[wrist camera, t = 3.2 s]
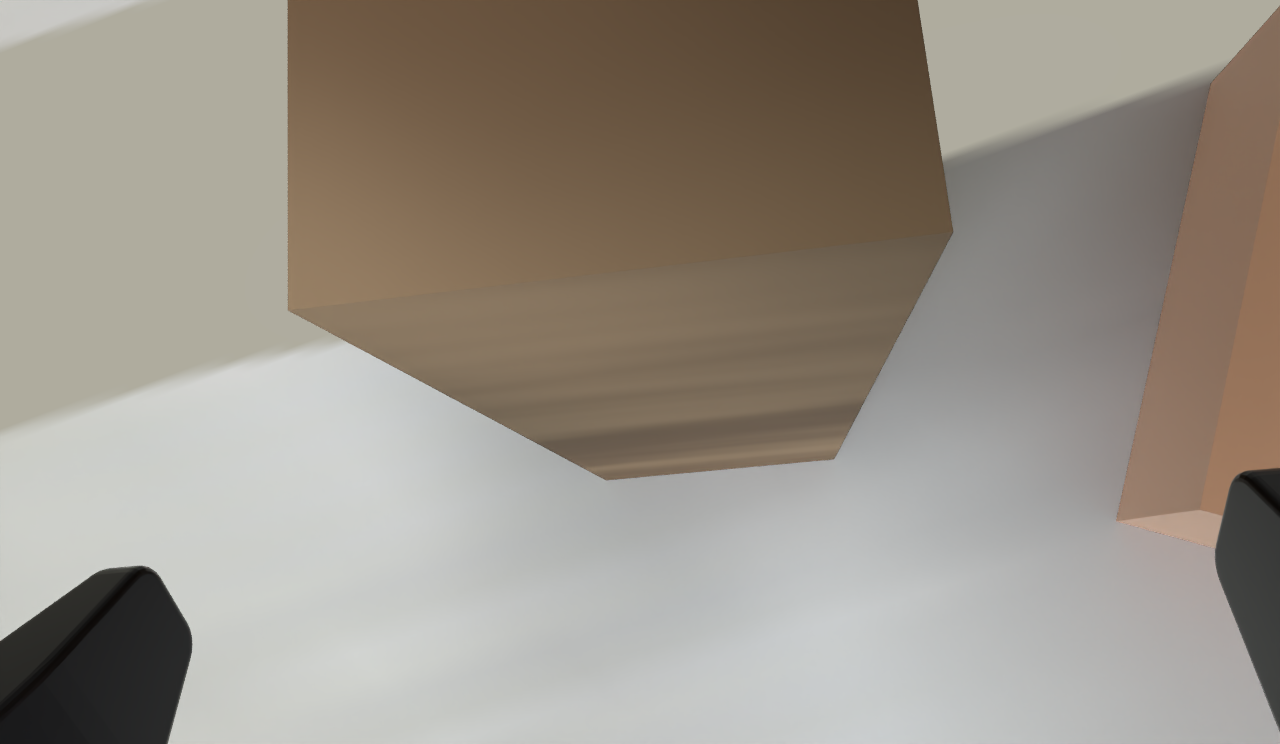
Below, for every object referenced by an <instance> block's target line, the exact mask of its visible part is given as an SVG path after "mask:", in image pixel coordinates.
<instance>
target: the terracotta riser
mask: <svg viewBox="0 0 1280 744" xmlns="http://www.w3.org/2000/svg"><path fill="white" fill-rule="evenodd" d="M1271 468H1280V6H1279V7H1278V9H1277V10H1276V11H1275V12H1274V13H1273V14H1272V15H1271V16H1270V18H1269V19H1268V20H1267V21H1266V22H1265V23H1264V25H1262V27H1261V28H1260V29H1259V30H1258V31H1257V32H1256V33H1255V35H1254V36H1253V37H1252V38H1251V39H1250V40H1249V41H1248V42H1247V43H1246V45H1245V46H1244V47H1243V48H1242V49H1241V50H1240V51H1239V52H1238V53H1237V55H1236V56H1235V57H1234V58H1233V59H1232V60H1231V61H1230V62H1229V64H1228V65H1227V66H1226V67H1225V68H1224V69H1223V70H1222V71H1221V72H1220V74H1219V75H1218V76H1217V77H1216V78H1215V79H1214V80H1213V81H1212V83H1211V85H1210V90H1209V94H1208V99H1207V103H1206V108H1205V113H1204V117H1203V122H1202V126H1201V131H1200V136H1199V140H1198V145H1197V150H1196V154H1195V159H1194V163H1193V168H1192V173H1191V177H1190V182H1189V186H1188V191H1187V196H1186V200H1185V205H1184V210H1183V214H1182V219H1181V223H1180V228H1179V233H1178V237H1177V242H1176V246H1175V251H1174V256H1173V260H1172V265H1171V270H1170V274H1169V279H1168V283H1167V288H1166V293H1165V297H1164V302H1163V307H1162V311H1161V316H1160V320H1159V325H1158V330H1157V334H1156V339H1155V343H1154V348H1153V353H1152V357H1151V362H1150V367H1149V371H1148V376H1147V380H1146V385H1145V390H1144V394H1143V399H1142V403H1141V408H1140V413H1139V417H1138V422H1137V427H1136V431H1135V436H1134V440H1133V445H1132V450H1131V454H1130V459H1129V463H1128V468H1127V473H1126V477H1125V482H1124V487H1123V491H1122V496H1121V500H1120V505H1119V510H1118V514H1117V519H1116V521H1117V522H1120V523H1124V524H1128V525H1131V526H1135V527H1139V528H1142V529H1146V530H1150V531H1153V532H1157V533H1161V534H1164V535H1168V536H1171V537H1175V538H1179V539H1182V540H1186V541H1190V542H1193V543H1197V544H1201V545H1204V546H1208V547H1212V548H1216V542H1217V538H1218V534H1219V529H1220V525H1221V521H1222V517H1223V513H1224V508H1225V504H1226V500H1227V496H1228V491H1229V488H1230V485H1231V482H1232V480H1233V479H1234V478H1235V476H1236V475H1238V474H1239V473H1242V472H1244V471H1248V470H1260V469H1271Z"/></svg>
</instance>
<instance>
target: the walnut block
mask: <svg viewBox="0 0 1280 744" xmlns="http://www.w3.org/2000/svg"><path fill="white" fill-rule="evenodd" d="M952 233H953V227H952V221H951V214H950V208H949V202H948V195H947V189H946V182H945V176H944V169H943V163H942V156H941V150H940V143H939V137H938V131H937V124H936V117H935V111H934V105H933V98H932V91H931V85H930V78H929V72H928V65H927V59H926V52H925V46H924V39H923V33H922V27H921V20H920V14H919V7H918V1H917V0H288V310H289V311H290V312H292V313H294V314H296V315H298V316H300V317H301V318H303V319H305V320H307V321H309V322H311V323H313V324H315V325H316V326H318V327H320V328H322V329H324V330H326V331H328V332H330V333H331V334H333V335H335V336H337V337H339V338H341V339H343V340H345V341H346V342H348V343H350V344H352V345H354V346H356V347H358V348H359V349H361V350H363V351H365V352H367V353H369V354H371V355H373V356H374V357H376V358H378V359H380V360H382V361H384V362H386V363H388V364H389V365H391V366H393V367H395V368H397V369H399V370H401V371H403V372H404V373H406V374H408V375H410V376H412V377H414V378H416V379H418V380H419V381H421V382H423V383H425V384H427V385H429V386H431V387H432V388H434V389H436V390H438V391H440V392H442V393H444V394H446V395H447V396H449V397H451V398H453V399H455V400H457V401H459V402H461V403H462V404H464V405H466V406H468V407H470V408H472V409H474V410H476V411H477V412H479V413H481V414H483V415H485V416H487V417H489V418H491V419H492V420H494V421H496V422H498V423H500V424H502V425H504V426H505V427H507V428H509V429H511V430H513V431H515V432H517V433H519V434H520V435H522V436H524V437H526V438H528V439H530V440H532V441H534V442H535V443H537V444H539V445H541V446H543V447H545V448H547V449H549V450H550V451H552V452H554V453H556V454H558V455H560V456H562V457H564V458H565V459H567V460H569V461H571V462H573V463H575V464H577V465H579V466H580V467H582V468H584V469H586V470H588V471H590V472H592V473H593V474H595V475H597V476H599V477H601V478H603V479H605V480H614V479H625V478H636V477H647V476H657V475H668V474H679V473H690V472H701V471H712V470H722V469H733V468H744V467H755V466H766V465H777V464H787V463H798V462H809V461H820V460H831V459H834V458H835V456H836V454H837V452H838V451H839V449H840V447H841V445H842V443H843V441H844V439H845V437H846V435H847V433H848V432H849V430H850V428H851V426H852V424H853V422H854V420H855V418H856V416H857V414H858V412H859V411H860V409H861V407H862V405H863V403H864V401H865V399H866V397H867V395H868V393H869V392H870V390H871V388H872V386H873V384H874V382H875V380H876V378H877V376H878V374H879V372H880V371H881V369H882V367H883V365H884V363H885V361H886V359H887V357H888V355H889V353H890V351H891V350H892V348H893V346H894V344H895V342H896V340H897V338H898V336H899V334H900V332H901V331H902V329H903V327H904V325H905V323H906V321H907V319H908V317H909V315H910V313H911V311H912V310H913V308H914V306H915V304H916V302H917V300H918V298H919V296H920V294H921V292H922V291H923V289H924V287H925V285H926V283H927V281H928V279H929V277H930V275H931V273H932V271H933V270H934V268H935V266H936V264H937V262H938V260H939V258H940V256H941V254H942V252H943V250H944V249H945V247H946V245H947V243H948V241H949V239H950V237H951V235H952Z"/></svg>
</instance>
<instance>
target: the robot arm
mask: <svg viewBox="0 0 1280 744" xmlns="http://www.w3.org/2000/svg"><path fill="white" fill-rule="evenodd" d="M1215 563H1216V569H1217V573H1218V577H1219V580H1220V583H1221V585H1222V588H1223V590H1224V593H1225V595H1226V598H1227V600H1228V603H1229V605H1230V608H1231V610H1232V613H1233V615H1234V618H1235V620H1236V623H1237V625H1238V628H1239V630H1240V633H1241V635H1242V638H1243V640H1244V643H1245V645H1246V648H1247V650H1248V653H1249V656H1250V658H1251V661H1252V663H1253V666H1254V668H1255V671H1256V673H1257V676H1258V678H1259V681H1260V683H1261V686H1262V688H1263V691H1264V693H1265V696H1266V698H1267V701H1268V703H1269V706H1270V708H1271V711H1272V713H1273V716H1274V718H1275V721H1276V723H1277V726H1278V728H1279V731H1280V468H1271V469H1260V470H1248V471H1244V472H1242V473H1239V474H1238V475H1236V476H1235V478H1234V479H1233V480H1232V482H1231V485H1230V488H1229V491H1228V496H1227V500H1226V504H1225V508H1224V513H1223V517H1222V521H1221V525H1220V529H1219V534H1218V538H1217V542H1216V548H1215ZM191 653H192V635H191V631H190V628H189V626H188V624H187V622H186V620H185V618H184V617H183V615H182V613H181V612H180V610H179V608H178V607H177V605H176V603H175V602H174V600H173V598H172V596H171V595H170V593H169V591H168V590H167V588H166V586H165V585H164V583H163V581H162V580H161V578H160V576H159V575H158V574H157V572H155V571H154V570H152V569H151V568H149V567H145V566H131V567H119V568H109V569H105V570H101V571H99V572H97V573H95V574H94V575H92V576H91V577H89V578H88V579H87V580H85V581H84V582H82V583H81V584H80V585H78V586H77V587H75V588H74V589H73V590H71V591H70V592H68V593H67V594H66V595H64V596H63V597H61V598H60V599H59V600H57V601H56V602H54V603H53V604H52V605H50V606H49V607H47V608H46V609H45V610H43V611H42V612H40V613H39V614H38V615H36V616H35V617H33V618H32V619H31V620H29V621H28V622H26V623H25V624H24V625H22V626H21V627H19V628H18V629H17V630H15V631H14V632H12V633H11V634H10V635H8V636H7V637H5V638H4V639H3V640H1V641H0V744H168V740H169V736H170V733H171V729H172V725H173V722H174V718H175V714H176V710H177V707H178V703H179V699H180V696H181V692H182V688H183V684H184V681H185V677H186V673H187V670H188V666H189V662H190V658H191Z"/></svg>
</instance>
